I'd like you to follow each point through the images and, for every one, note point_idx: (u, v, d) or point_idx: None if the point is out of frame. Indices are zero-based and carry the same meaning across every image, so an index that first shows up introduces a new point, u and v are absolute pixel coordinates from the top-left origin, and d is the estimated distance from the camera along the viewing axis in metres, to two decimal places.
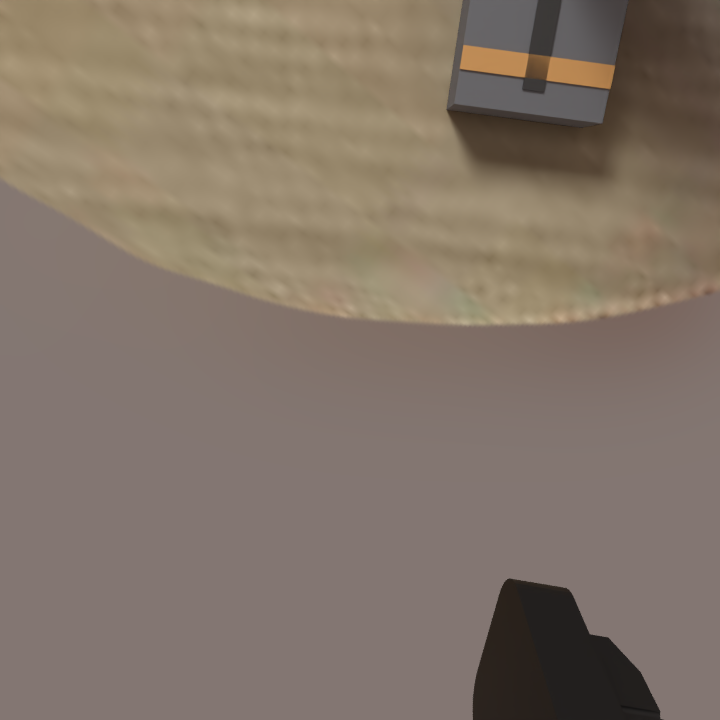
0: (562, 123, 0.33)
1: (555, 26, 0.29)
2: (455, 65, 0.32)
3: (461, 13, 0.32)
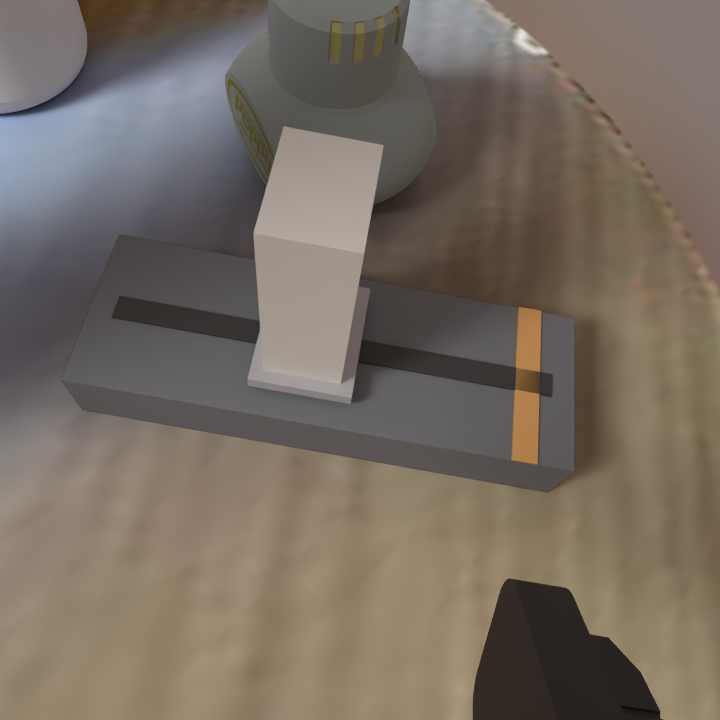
0: None
1: (485, 363, 0.27)
2: (510, 477, 0.27)
3: (447, 472, 0.28)
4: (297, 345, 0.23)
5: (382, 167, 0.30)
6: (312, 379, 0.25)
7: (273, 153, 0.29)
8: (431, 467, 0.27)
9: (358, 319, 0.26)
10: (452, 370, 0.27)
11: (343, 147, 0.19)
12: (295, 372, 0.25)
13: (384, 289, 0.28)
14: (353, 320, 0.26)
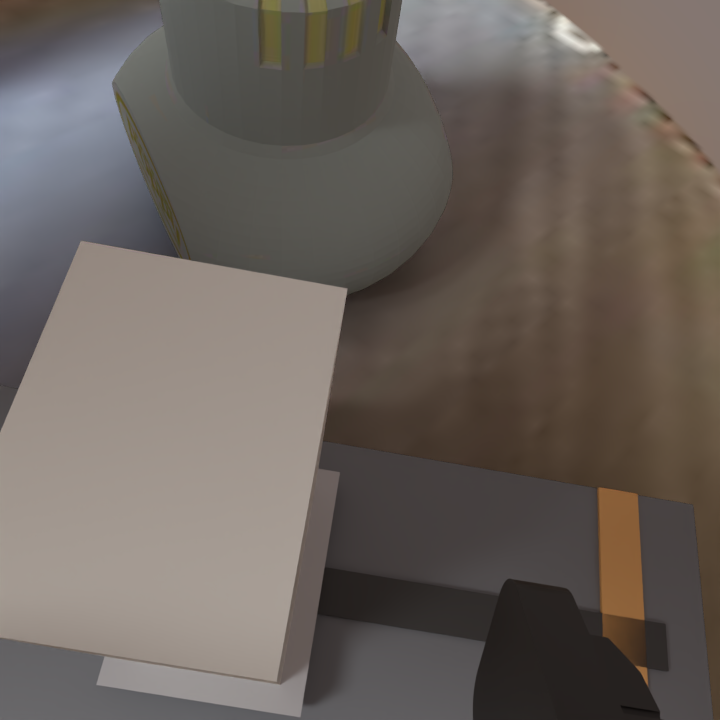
0: None
1: None
2: None
3: None
4: None
5: (363, 241, 0.18)
6: (226, 676, 0.13)
7: (178, 220, 0.17)
8: None
9: (316, 537, 0.14)
10: (488, 623, 0.15)
11: (238, 297, 0.07)
12: (190, 670, 0.13)
13: (366, 460, 0.16)
14: (308, 540, 0.14)
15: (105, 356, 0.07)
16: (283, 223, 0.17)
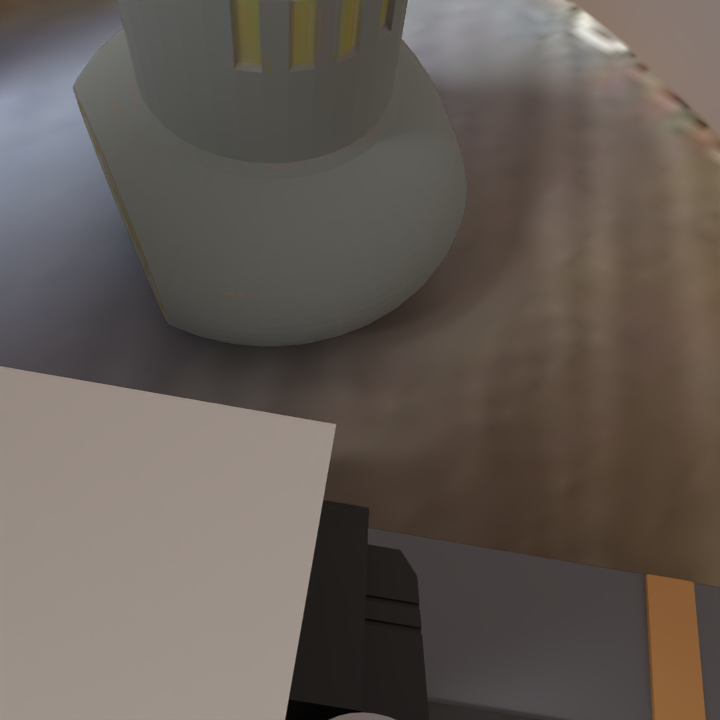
0: None
1: None
2: None
3: None
4: None
5: (363, 275, 0.15)
6: None
7: (143, 251, 0.14)
8: None
9: None
10: None
11: (159, 446, 0.04)
12: None
13: None
14: None
15: None
16: (268, 256, 0.14)
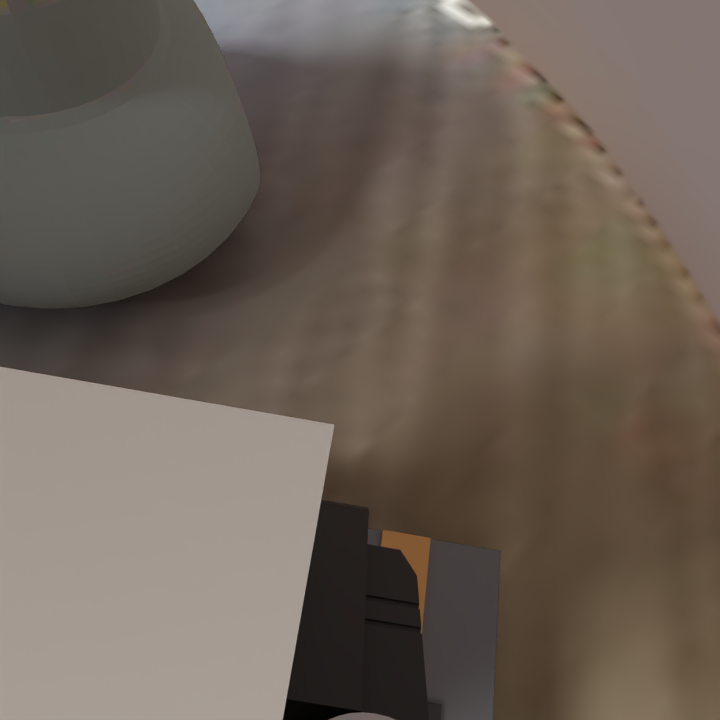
0: None
1: None
2: None
3: None
4: None
5: (120, 232, 0.15)
6: None
7: None
8: None
9: None
10: None
11: (156, 447, 0.04)
12: None
13: None
14: None
15: None
16: (11, 210, 0.14)
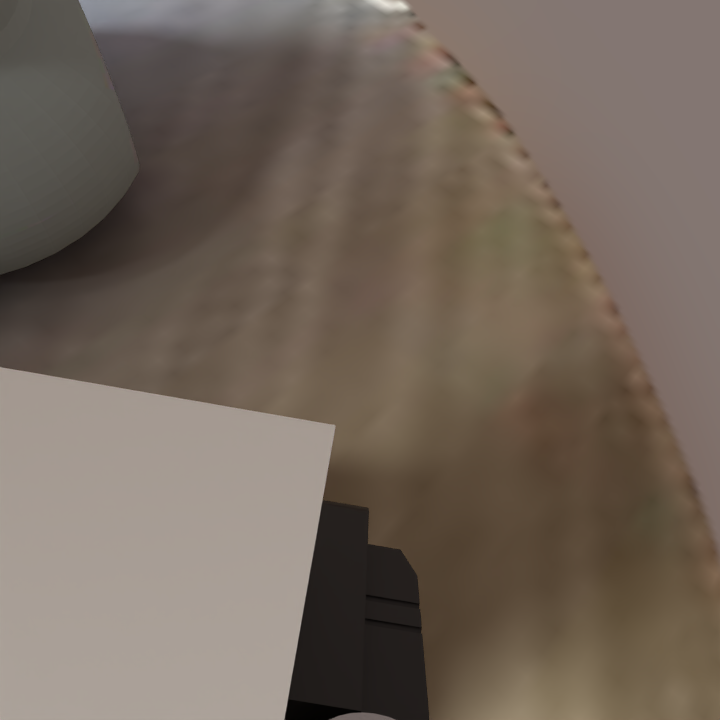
0: None
1: None
2: None
3: None
4: None
5: None
6: None
7: None
8: None
9: None
10: None
11: (157, 447, 0.04)
12: None
13: None
14: None
15: None
16: None
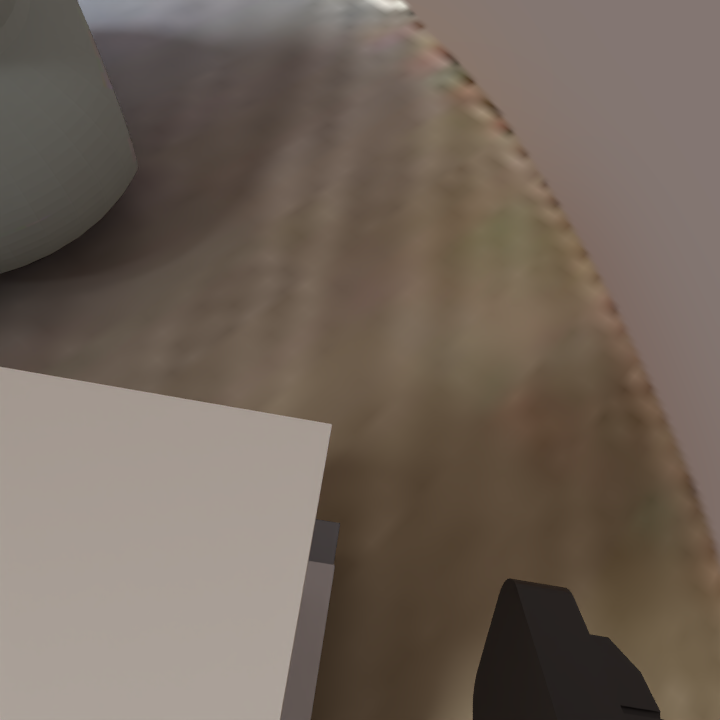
0: None
1: None
2: None
3: None
4: None
5: None
6: None
7: None
8: None
9: (305, 652, 0.12)
10: None
11: (152, 446, 0.04)
12: None
13: None
14: (294, 655, 0.12)
15: None
16: None
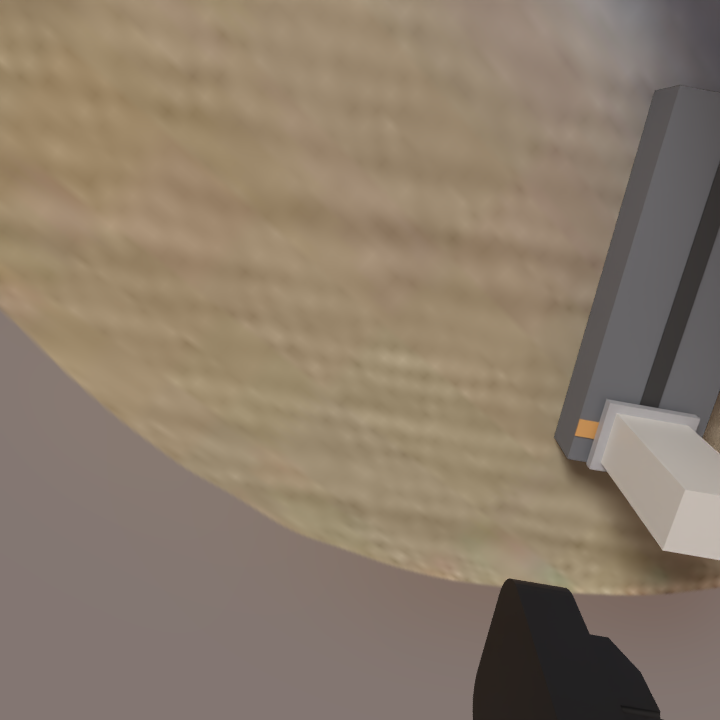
0: None
1: None
2: (567, 414, 0.39)
3: (574, 371, 0.39)
4: (626, 455, 0.33)
5: None
6: (605, 444, 0.36)
7: None
8: (579, 360, 0.38)
9: None
10: (653, 385, 0.36)
11: None
12: (611, 436, 0.35)
13: None
14: None
15: None
16: None
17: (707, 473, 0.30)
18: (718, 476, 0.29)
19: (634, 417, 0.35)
